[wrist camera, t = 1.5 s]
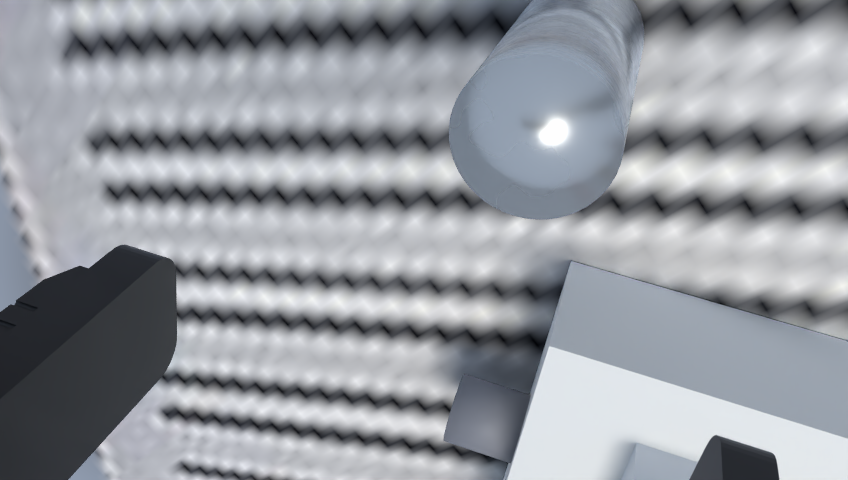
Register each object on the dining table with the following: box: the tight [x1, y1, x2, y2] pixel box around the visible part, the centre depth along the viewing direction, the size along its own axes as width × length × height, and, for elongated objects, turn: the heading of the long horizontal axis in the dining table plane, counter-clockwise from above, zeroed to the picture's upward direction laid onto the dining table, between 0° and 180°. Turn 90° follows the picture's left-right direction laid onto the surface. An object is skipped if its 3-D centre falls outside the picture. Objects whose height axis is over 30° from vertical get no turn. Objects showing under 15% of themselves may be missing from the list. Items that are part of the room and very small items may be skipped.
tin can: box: [449, 0, 644, 219], centre depth 24 cm, size 4×4×10 cm
